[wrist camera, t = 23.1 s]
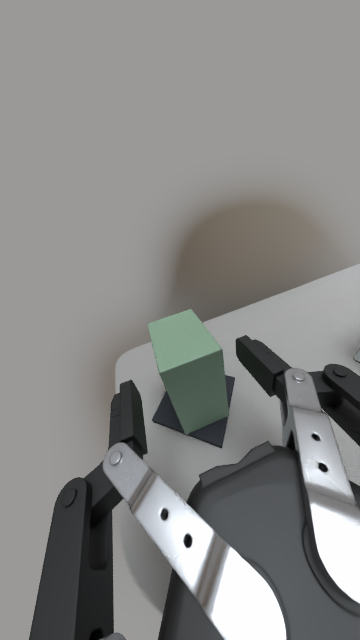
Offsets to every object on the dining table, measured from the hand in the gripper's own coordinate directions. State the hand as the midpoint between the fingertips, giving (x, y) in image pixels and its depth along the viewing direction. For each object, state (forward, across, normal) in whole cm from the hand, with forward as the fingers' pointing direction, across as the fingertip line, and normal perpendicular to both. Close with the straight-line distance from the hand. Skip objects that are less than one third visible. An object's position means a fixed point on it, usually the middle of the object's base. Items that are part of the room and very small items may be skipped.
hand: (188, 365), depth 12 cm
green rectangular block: (+4, 0, -10) cm, 10 cm away
